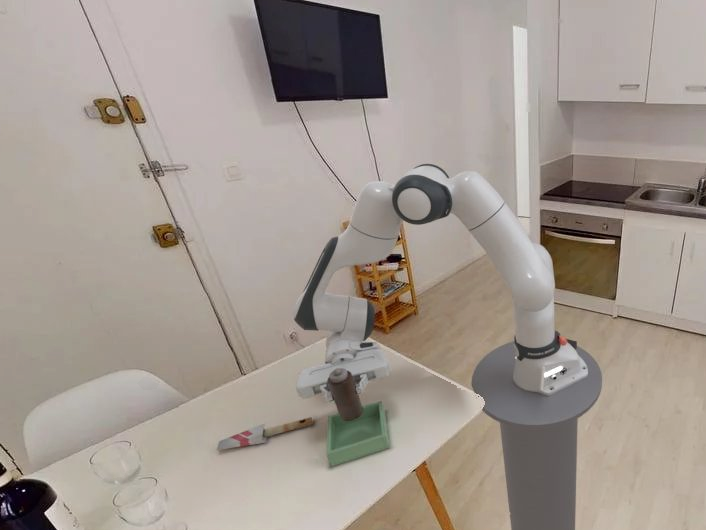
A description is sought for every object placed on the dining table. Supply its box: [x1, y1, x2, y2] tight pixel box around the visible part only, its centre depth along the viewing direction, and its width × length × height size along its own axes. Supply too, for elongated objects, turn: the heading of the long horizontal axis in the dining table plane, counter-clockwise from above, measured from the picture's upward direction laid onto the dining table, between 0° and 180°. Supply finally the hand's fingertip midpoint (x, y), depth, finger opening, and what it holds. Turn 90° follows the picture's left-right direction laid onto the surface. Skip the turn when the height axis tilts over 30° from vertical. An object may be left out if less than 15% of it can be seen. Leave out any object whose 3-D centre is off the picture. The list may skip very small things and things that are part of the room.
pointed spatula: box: [216, 416, 314, 451], centre depth 100 cm, size 4×3×20 cm
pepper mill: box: [327, 368, 363, 421], centre depth 93 cm, size 5×5×13 cm
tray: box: [326, 400, 390, 467], centre depth 99 cm, size 13×13×4 cm
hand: (344, 395), depth 92 cm, fingers closed on pepper mill, 5 cm apart
